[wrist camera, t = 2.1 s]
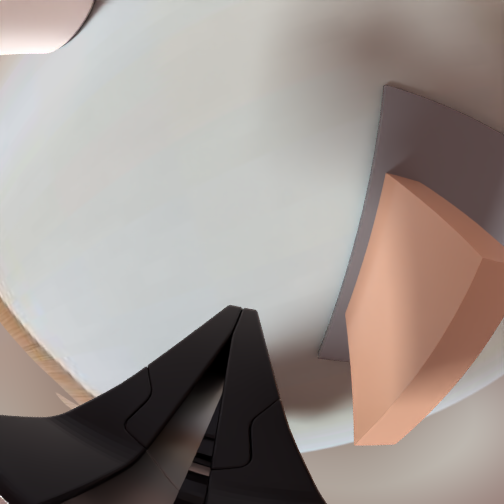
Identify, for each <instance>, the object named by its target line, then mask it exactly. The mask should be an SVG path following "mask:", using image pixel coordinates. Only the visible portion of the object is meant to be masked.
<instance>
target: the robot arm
mask: <svg viewBox="0 0 504 504" xmlns="http://www.w3.org/2000/svg"><path fill="white" fill-rule="evenodd" d="M0 504H327V503H326V502H325V500H324V499H323V497H322V496H321V494H320V492H319V491H318V489H317V487H316V485H315V483H314V481H313V479H312V477H311V475H310V473H309V471H308V469H307V466H306V464H305V462H304V460H303V458H302V456H301V454H300V452H299V449H298V447H297V445H296V443H295V440H294V438H293V435H292V433H291V430H290V428H289V424H288V421H287V418H286V415H285V412H284V408H283V405H282V401H281V400H280V394H279V391H278V387H277V383H276V380H275V376H274V372H273V368H272V365H271V361H270V357H269V354H268V350H267V346H266V342H265V339H264V335H263V331H262V327H261V323H260V320H259V316H258V312H257V311H256V310H253V309H248V308H244V309H242V308H241V307H238V306H233V305H229V306H227V307H226V308H224V309H223V310H222V311H220V312H219V313H218V314H216V315H215V316H214V317H212V318H211V319H210V320H209V321H207V322H206V323H205V324H203V325H202V326H201V327H199V328H198V329H197V330H195V331H194V332H193V333H191V334H190V335H188V336H187V337H186V338H184V339H183V340H182V341H180V342H179V343H178V344H176V345H175V346H174V347H172V348H171V349H170V350H168V351H167V352H165V353H164V354H163V355H161V356H160V357H159V358H157V359H156V360H154V361H153V362H152V363H150V364H149V365H148V368H147V367H145V368H143V369H142V370H140V371H139V372H138V373H136V374H135V375H133V376H132V377H130V378H129V379H127V380H126V381H124V382H123V383H121V384H119V385H118V386H116V387H114V388H112V389H111V390H109V391H107V392H105V393H103V394H101V395H100V396H98V397H96V398H94V399H92V400H90V401H88V402H86V403H84V404H82V405H80V406H78V407H76V408H74V409H72V410H70V411H68V412H66V413H63V414H60V415H56V416H52V417H19V416H6V415H5V416H4V415H0Z"/></svg>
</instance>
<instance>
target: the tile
mask: <svg viewBox="0 0 504 504" xmlns="http://www.w3.org/2000/svg"><path fill="white" fill-rule="evenodd" d="M503 317H504V246H502V245H501V244H500V243H499V242H498V241H497V240H496V239H495V238H494V237H492V236H491V235H490V234H489V233H488V232H487V231H485V230H484V229H483V228H482V227H481V226H479V225H478V224H477V223H476V222H474V221H473V220H472V219H471V218H469V217H468V216H467V215H466V214H464V213H463V212H462V211H460V210H459V209H458V208H456V207H455V206H454V205H452V204H451V203H450V202H448V201H447V200H445V199H444V198H443V197H441V196H440V195H438V194H437V193H436V192H434V191H433V190H431V189H430V188H428V187H427V186H425V185H424V184H422V183H421V182H418V181H415V180H411V179H408V178H404V177H400V176H397V175H393V174H389V173H386V174H385V179H384V183H383V188H382V192H381V197H380V201H379V205H378V209H377V213H376V217H375V221H374V225H373V228H372V232H371V236H370V239H369V243H368V246H367V250H366V253H365V256H364V260H363V263H362V266H361V269H360V272H359V275H358V278H357V281H356V284H355V287H354V290H353V293H352V296H351V299H350V302H349V304H348V307H347V310H346V313H345V318H346V326H347V335H348V345H349V355H350V366H351V379H352V395H353V417H354V445H391V444H396V443H397V442H398V441H399V440H401V439H402V438H403V437H404V436H405V435H406V434H408V433H409V432H410V431H411V430H412V429H413V428H414V427H415V426H416V425H417V424H418V423H419V422H421V421H422V420H423V419H424V418H425V417H426V416H427V415H428V414H429V413H430V412H431V411H432V410H433V409H434V408H435V407H436V406H437V404H438V403H439V402H440V401H441V400H442V399H443V398H444V397H445V396H446V395H447V394H448V392H449V391H450V390H451V389H452V388H453V387H454V386H455V384H456V383H457V382H458V381H459V380H460V378H461V377H462V376H463V375H464V374H465V372H466V371H467V370H468V368H469V367H470V366H471V365H472V363H473V362H474V361H475V359H476V358H477V356H478V355H479V354H480V352H481V351H482V350H483V348H484V347H485V345H486V344H487V342H488V341H489V339H490V338H491V336H492V335H493V333H494V332H495V330H496V328H497V327H498V325H499V324H500V322H501V320H502V319H503Z"/></svg>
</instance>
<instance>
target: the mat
mask: <svg viewBox="0 0 504 504" xmlns="http://www.w3.org/2000/svg"><path fill="white" fill-rule="evenodd" d="M386 173H389V174H393V175H397V176H400V177H404V178H408V179H411V180H415V181H418V182H421V183H422V184H424V185H425V186H427V187H428V188H430V189H431V190H433V191H434V192H436V193H437V194H438V195H440V196H441V197H443V198H444V199H445V200H447V201H448V202H450V203H451V204H452V205H454V206H455V207H456V208H458V209H459V210H460V211H462V212H463V213H464V214H466V215H467V216H468V217H469V218H471V219H472V220H473V221H474V222H476V223H477V224H478V225H479V226H481V227H482V228H483V229H484V230H485V231H487V232H488V233H489V234H490V235H491V236H492V237H494V238H495V239H496V240H497V241H498V242H499V243H500V244H501V245H502V246H504V135H503V134H501V133H500V132H498V131H496V130H494V129H492V128H491V127H489V126H487V125H485V124H483V123H481V122H479V121H477V120H475V119H473V118H471V117H469V116H467V115H465V114H463V113H461V112H459V111H456V110H454V109H452V108H450V107H447V106H445V105H442V104H440V103H438V102H435V101H433V100H430V99H427V98H425V97H422V96H419V95H416V94H413V93H411V92H408V91H405V90H401V89H398V88H395V87H392V86H388V85H385V86H384V89H383V98H382V106H381V114H380V121H379V128H378V135H377V141H376V147H375V153H374V158H373V164H372V169H371V174H370V179H369V184H368V189H367V193H366V198H365V202H364V206H363V211H362V215H361V219H360V223H359V227H358V231H357V235H356V239H355V242H354V246H353V250H352V253H351V257H350V260H349V264H348V267H347V271H346V274H345V277H344V281H343V284H342V287H341V290H340V293H339V296H338V299H337V302H336V305H335V308H334V311H333V314H332V317H331V320H330V323H329V326H328V328H327V331H326V334H325V337H324V339H323V342H322V345H321V347H320V350H319V353H318V358H320V359H328V360H336V361H345V362H350V355H349V345H348V335H347V326H346V318H345V313H346V310H347V307H348V304H349V302H350V299H351V296H352V293H353V290H354V287H355V284H356V281H357V278H358V275H359V272H360V269H361V266H362V263H363V260H364V256H365V253H366V250H367V246H368V243H369V239H370V236H371V232H372V228H373V225H374V221H375V217H376V213H377V209H378V205H379V201H380V197H381V192H382V188H383V183H384V179H385V174H386Z"/></svg>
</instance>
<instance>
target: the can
mask: <svg viewBox="0 0 504 504" xmlns="http://www.w3.org/2000/svg"><path fill="white" fill-rule="evenodd" d="M94 1H95V0H0V55H6V54H45V53H51V52H53V51H55V50H57V49H59V48H60V47H61V46H63V45H64V44H66V43H67V42H68V41H69V40H70V39H71V38H72V37H73V36H74V35H75V34H76V33H77V32H78V30H79V29H80V28H81V26H82V25H83V24H84V22H85V20H86V19H87V17H88V15H89V13H90V11H91V9H92V7H93V4H94Z"/></svg>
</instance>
